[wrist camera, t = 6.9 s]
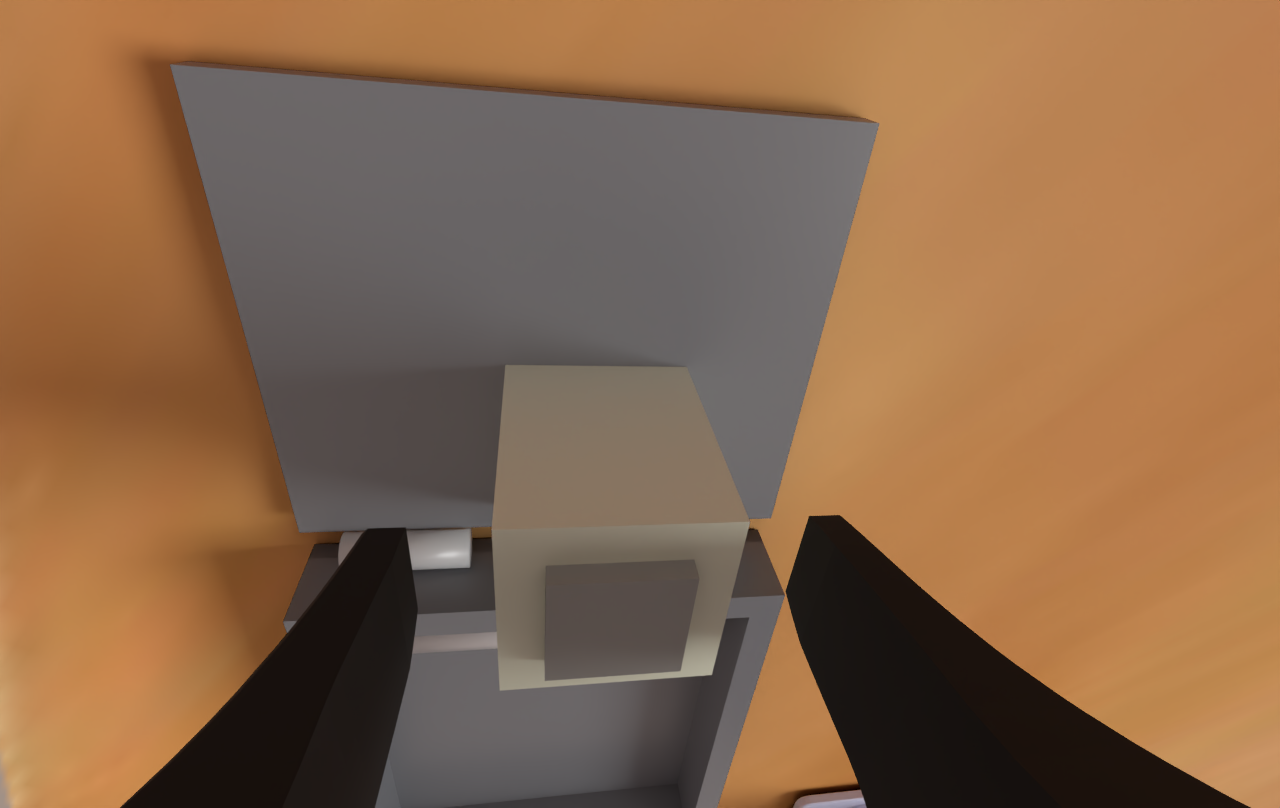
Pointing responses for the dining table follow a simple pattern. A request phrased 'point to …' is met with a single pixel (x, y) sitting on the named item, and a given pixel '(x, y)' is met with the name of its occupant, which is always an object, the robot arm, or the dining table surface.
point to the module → (610, 527)
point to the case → (558, 706)
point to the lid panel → (507, 272)
